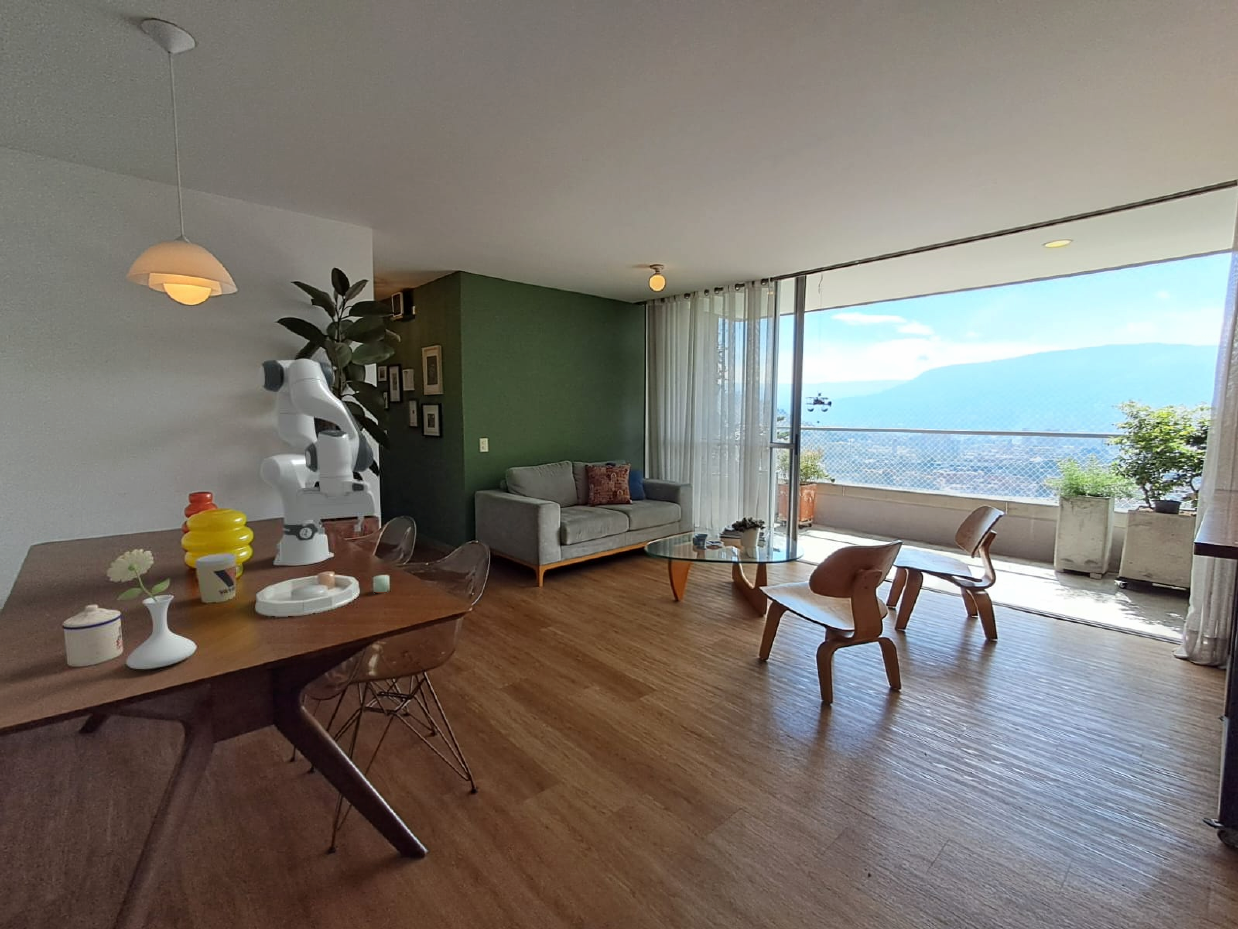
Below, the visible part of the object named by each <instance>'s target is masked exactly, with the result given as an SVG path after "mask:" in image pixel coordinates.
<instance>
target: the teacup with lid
mask: <svg viewBox="0 0 1238 929" xmlns="http://www.w3.org/2000/svg"><path fill="white" fill-rule="evenodd" d="M122 615H123V614H122V613H121V612H120V611H119V610H116V609H106V608H103V607H102V608H101V607H99V606H98V604H90V605H86V606H85V607H84V610H83V611H81V612H79V613H78V614H76V615H75V616H71V617H69V618H67V619H65V620H64V621H63V623H62V625H61V628H62V629H63V632H64V644H65V652H66V663H67V665H68V666H70V667H73V668H74V667H75V668H76V667H78V668H79V667H80V668H81V667H82V668H83V667H88V666H94V665H99V664H101V663H105V662H109V661H110V660H111V661H112V660H113V659H116V658H118V657H119V656H120V655H122V654H123V651H124V645H123V644H124V643H123V634H122V633H123V632H122V625H121V624H122V622H121V617H122Z"/></svg>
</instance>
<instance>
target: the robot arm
mask: <svg viewBox="0 0 1238 929" xmlns="http://www.w3.org/2000/svg"><path fill="white" fill-rule="evenodd" d="M335 378H336V377H335V373H334V370H333V367H332V366H331V365H330V363H327V362H325V361H324V362H323V361H319V360H318V361H314V360H312V359H309V358H299V359H283V360H282V359H281V360H276V359H270V360H264V362H263V363H261V365H260V368H259V371H258V379H259V381H260V384H261V386H262V388H264V389H265V390H266V391H268V392H272V393H276V419H277V421H276V423H277V431H278V433H277V434H278V435H279V437H280V438H281V439H282V441H285V442H287V443H288V444H289V445H290V446H291V449H292V450H293V453H292V452H291V453H281V454H276V455H273V456H269V457H266V458H265V459H264V460H262V462H261V465H260V469H259V472H260V473H259V474H260V476H261V478H262V481H264V483H265V484H266V485H267V484H268V485H269V486H270V487H272V488H273V489H274V490H275V491H276V492H277V494H278V496H279V498H280V500H281V504H282V511H283V512H282V513H283V520H284V521H283V522H284V523H283V524H282V532H283V536H282V538H280V540H279V542H278V543H276V546H275V547H276V550H277V551H278V552H277V554H276V556H275V559H274V561H273V565H274V566H293V567H294V566H304V565H305V566H306V565H312V564H315V563H320V562H324V561H326V560H327V559H330V558H333V557H334V553H333V552H331V551H329V543H328V542H329V541H328V535H327V534H326V532H325V530H326V529H325V527H323V523H322V520H325V519H338V518H341V519H342V518H351V517H352V518H353V517H357V520H358V523H357V524H354V526H353V528H354V532H361V524H362V523H363V521H364V519H365V517H366V516H373V515H374V516H375V514H376V513H377V503H376V498H375V495H374V492H372V491H371V490H370V489H371V484H370V482H368V481H364V480H360V479H357V478H356V479H355V478H354V473H355V472H356V473H363V472H365V471H366V470H368V469H369V468H370V467H371V466H372V465H373V463H374V452H373V448H372V446H371V445H370V443H369V442H368V440H367V439H366V438H365V436H364V435H363V433H362V432H361V430H360V428H359V426H358V424H357V422H356V420H355V418H354V416H353V414H352V412H351V411H350V409H349V407H348V406H347V404H346V403H345V402H344V401H342V400H340V399H339V398H338V397H336V396H335V395H334V394H333V393H332V391H331V389H332V388H333V387H334V383H335ZM314 418H315V419H321V420H325V421H327V422H330V423H333V424H335V426H338V427H339V429H340V430H338V429H326V430H322V431H320V432H318V434H317V433H316V428H315V427H316V426H315V419H314ZM315 482H318V483H319V486H313V487H312V486H311V487H306V484H307V483H315Z"/></svg>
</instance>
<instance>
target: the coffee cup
mask: <svg viewBox="0 0 1238 929" xmlns="http://www.w3.org/2000/svg"><path fill="white" fill-rule="evenodd" d="M194 564H195V566H196V575H197V581H198V586H199V591H200V592H199V593H200V597H201V598H200V599H201V602H202V603H204V602H205V604H213V603H212V602H216V603H221V602H226V601H229V600H228V599H230V600H231V599H234V598H235V597H236V592H237V591H236V590H237V585H236V584H237V556H236V554H234V553H217V554H209V555H206V556H205V555H204V556H202V557H199V558H197V559H196V561H195V563H194ZM233 597H234V598H233ZM209 602H210V603H209Z"/></svg>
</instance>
